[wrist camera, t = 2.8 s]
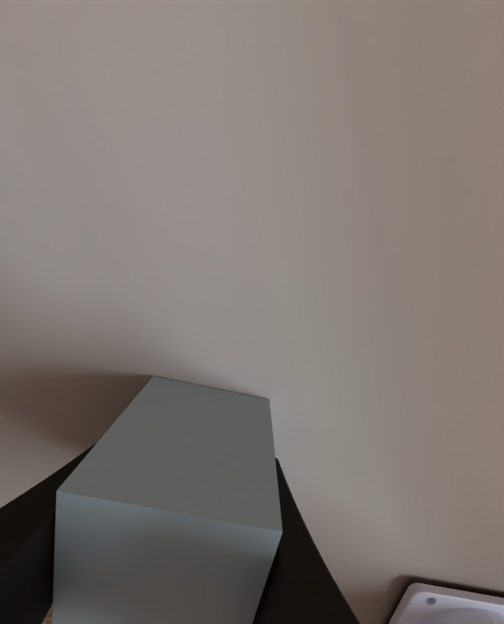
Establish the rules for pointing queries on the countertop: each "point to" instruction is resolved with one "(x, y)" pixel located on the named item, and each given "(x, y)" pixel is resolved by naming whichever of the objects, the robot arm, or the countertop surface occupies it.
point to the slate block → (170, 513)
